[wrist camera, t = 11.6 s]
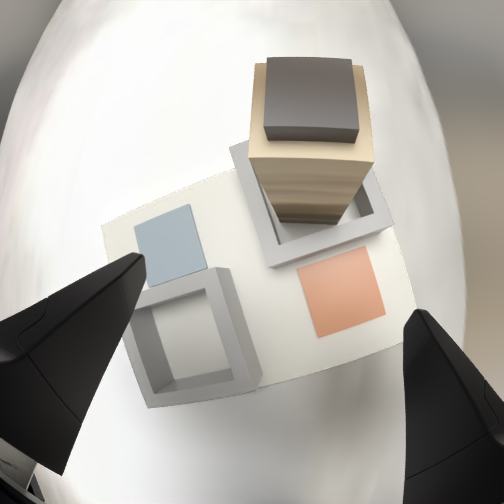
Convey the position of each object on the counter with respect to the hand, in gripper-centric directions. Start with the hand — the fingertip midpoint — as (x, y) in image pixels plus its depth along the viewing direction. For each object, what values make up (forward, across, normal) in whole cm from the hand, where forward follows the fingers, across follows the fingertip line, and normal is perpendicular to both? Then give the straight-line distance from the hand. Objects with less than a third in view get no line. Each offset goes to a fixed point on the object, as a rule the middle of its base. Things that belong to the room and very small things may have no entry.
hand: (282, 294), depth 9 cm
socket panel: (+10, +2, +8) cm, 13 cm away
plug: (+13, -2, +2) cm, 13 cm away
